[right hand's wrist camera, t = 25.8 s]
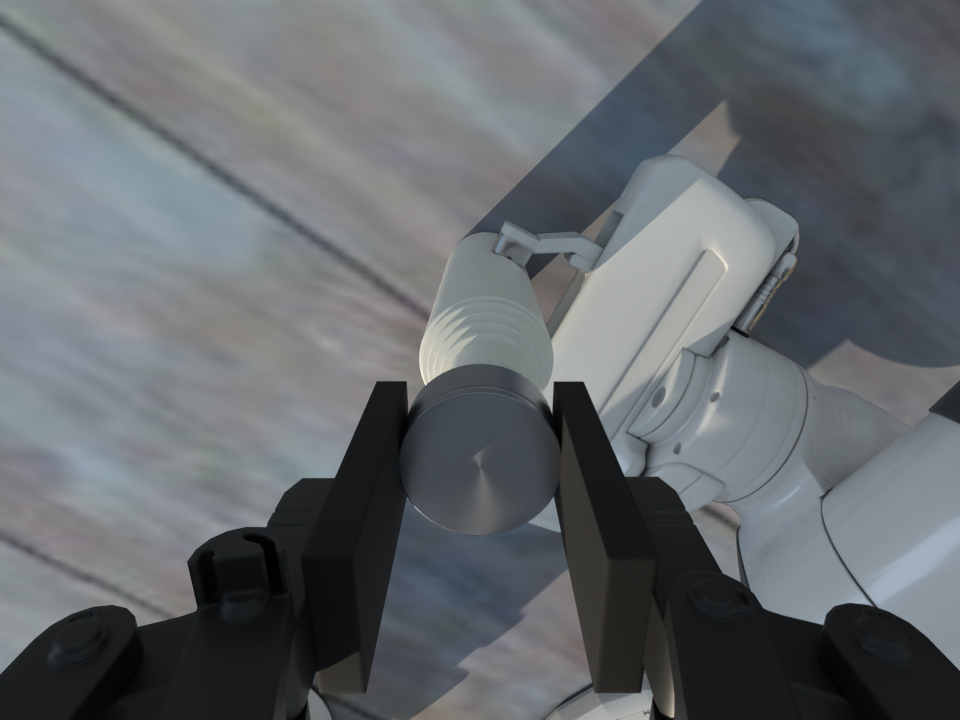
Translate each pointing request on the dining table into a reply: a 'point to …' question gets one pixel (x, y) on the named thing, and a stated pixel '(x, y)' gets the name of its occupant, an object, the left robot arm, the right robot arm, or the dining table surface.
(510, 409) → the cap
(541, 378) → the bottle
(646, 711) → the wall clock
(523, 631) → the dining table surface
